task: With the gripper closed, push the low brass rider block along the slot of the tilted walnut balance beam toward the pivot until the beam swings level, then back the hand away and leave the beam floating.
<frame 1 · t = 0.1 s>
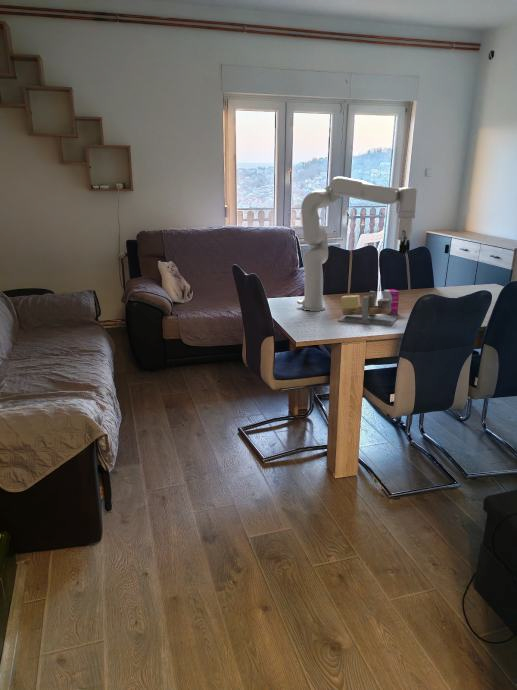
hand: (404, 252, 244), 31 cm above the table, tool pointing down, fingers open, 9 cm apart
stand: (368, 319, 247), on the table
beam: (366, 305, 245), point 7 cm above the table, hinge at -7.0°, touching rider
supplement box: (389, 313, 260), on the table
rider: (351, 310, 249), point 4 cm above the table, tilted 7°, touching beam
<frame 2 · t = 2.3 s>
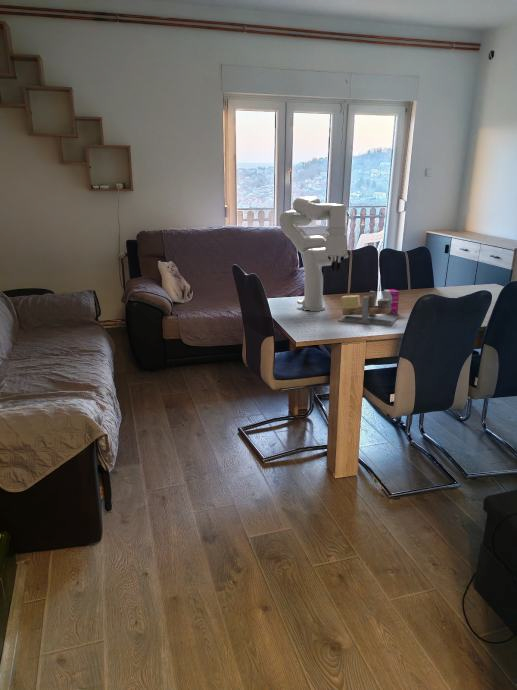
hand: (335, 270, 247), 23 cm above the table, tool pointing down, fingers closed
nothing on the table moved.
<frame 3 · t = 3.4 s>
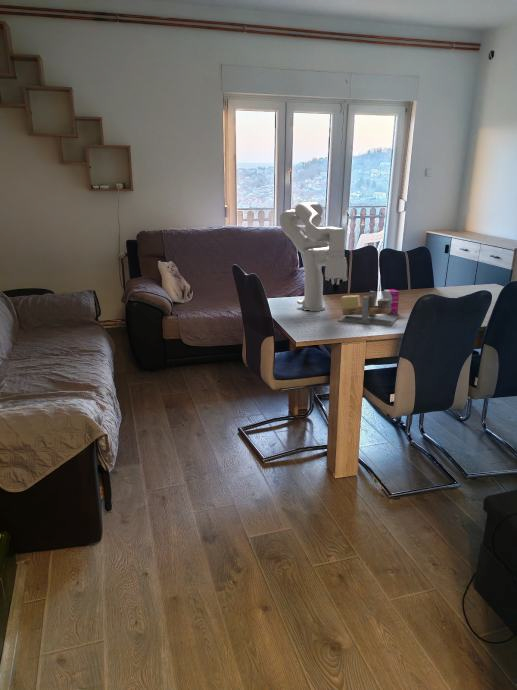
hand: (336, 292, 250), 12 cm above the table, tool pointing down, fingers closed
nothing on the table moved.
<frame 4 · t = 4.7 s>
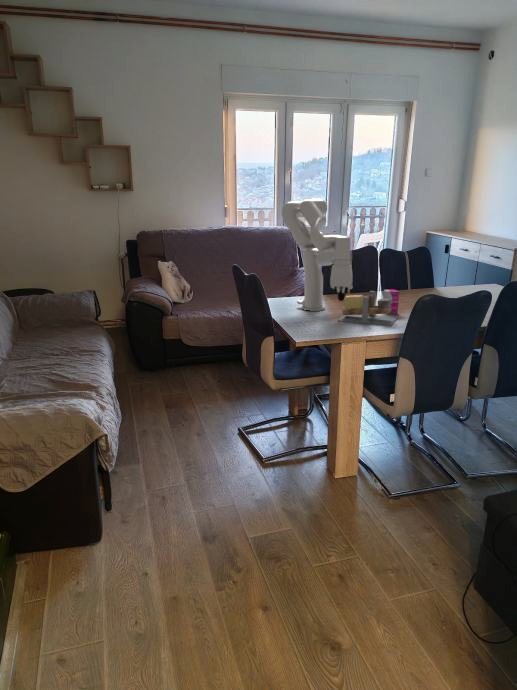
hand: (341, 300, 250), 9 cm above the table, tool pointing down, fingers closed
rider: (354, 310, 248), point 4 cm above the table, tilted 7°, touching beam, gripper
everything else where it was.
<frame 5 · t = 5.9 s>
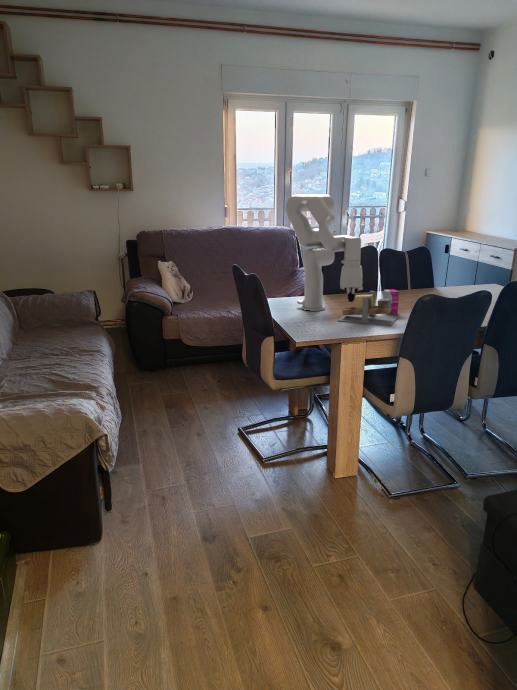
hand: (351, 301, 248), 8 cm above the table, tool pointing down, fingers closed
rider: (365, 309, 246), point 5 cm above the table, tilted 7°, touching beam, gripper
everything else where it was.
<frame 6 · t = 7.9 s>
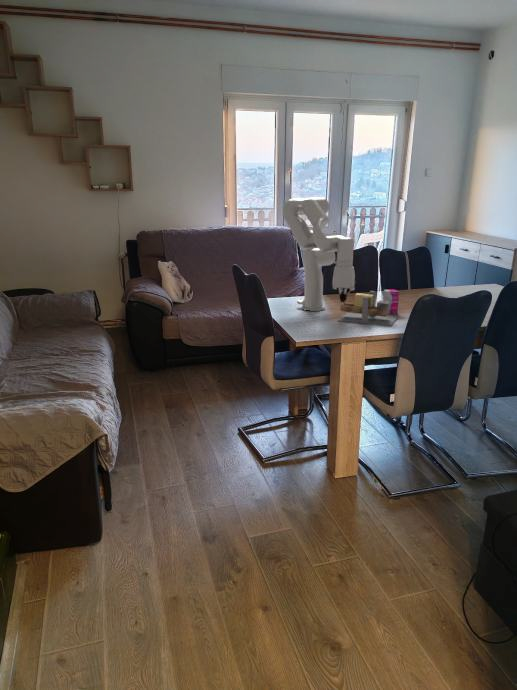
hand: (343, 301, 250), 8 cm above the table, tool pointing down, fingers closed
beam: (365, 304, 246), point 7 cm above the table, hinge at 2.9°, touching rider
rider: (363, 309, 247), point 5 cm above the table, touching beam
everything else where it was.
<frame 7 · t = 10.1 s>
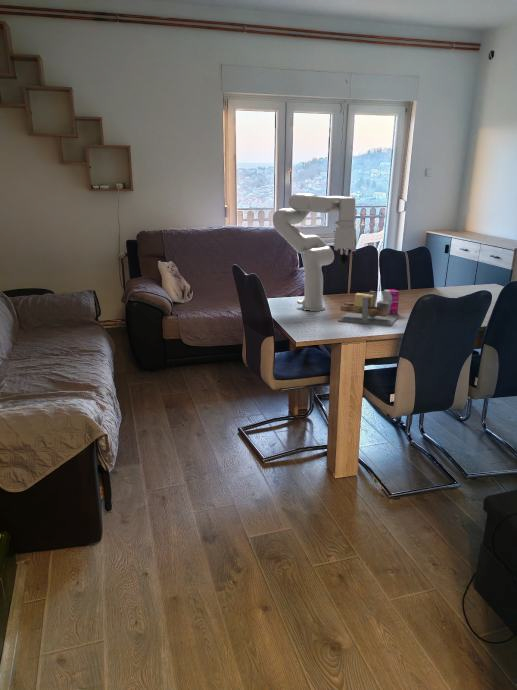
hand: (344, 262, 248), 26 cm above the table, tool pointing down, fingers closed
beam: (365, 304, 246), point 7 cm above the table, hinge at 3.3°, touching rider
everything else where it was.
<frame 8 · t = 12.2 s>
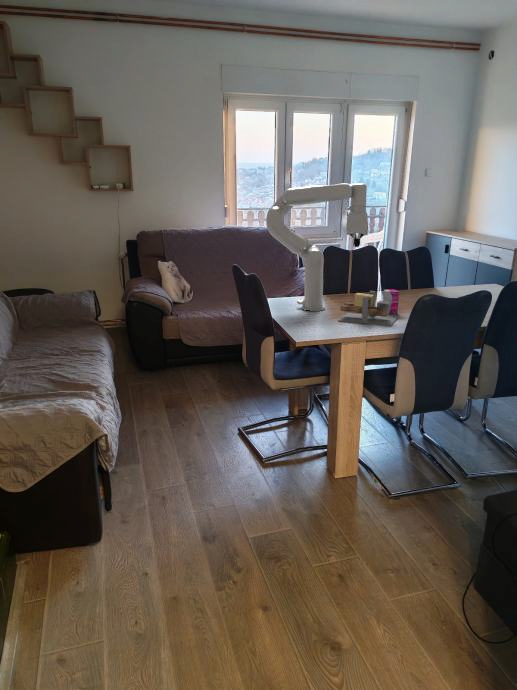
hand: (356, 246, 261), 32 cm above the table, tool pointing down, fingers closed
nothing on the table moved.
at the end: beam at +3° (first picture: -7°); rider 0.9 cm from the target spot under the beam, point -5.4 cm above the beam's base; the gripper is holding nothing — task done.
